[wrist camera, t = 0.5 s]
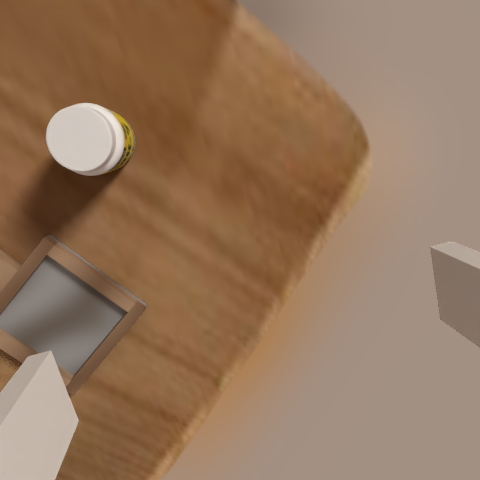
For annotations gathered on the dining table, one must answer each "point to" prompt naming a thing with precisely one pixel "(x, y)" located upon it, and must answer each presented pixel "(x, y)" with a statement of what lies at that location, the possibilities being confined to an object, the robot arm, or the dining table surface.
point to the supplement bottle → (90, 139)
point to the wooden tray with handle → (62, 310)
